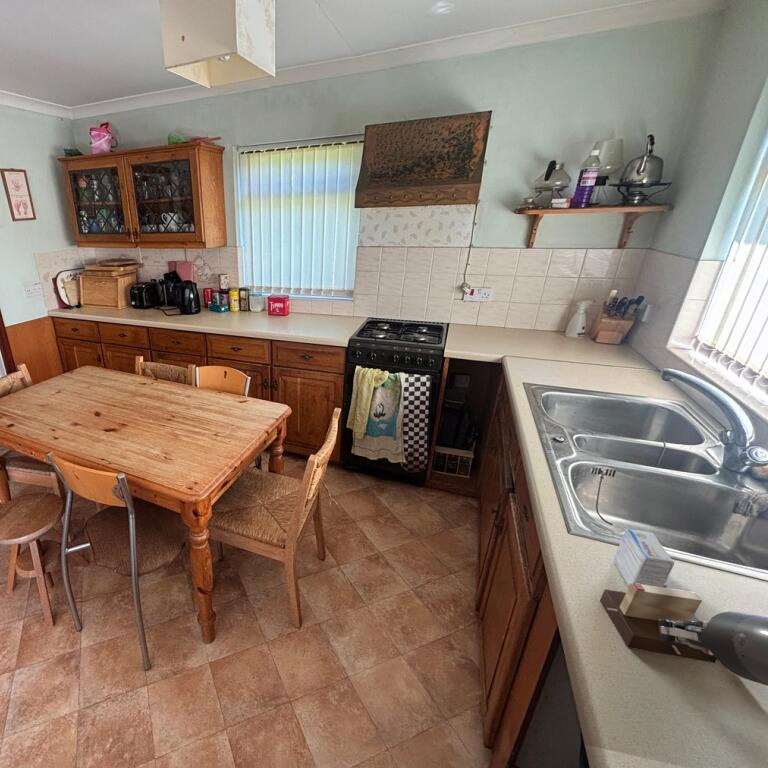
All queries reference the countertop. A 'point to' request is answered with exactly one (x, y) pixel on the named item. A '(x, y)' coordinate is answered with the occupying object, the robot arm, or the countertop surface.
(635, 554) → the medicine box
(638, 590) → the dial pointer
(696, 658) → the dark brown flat slab
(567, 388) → the countertop surface
